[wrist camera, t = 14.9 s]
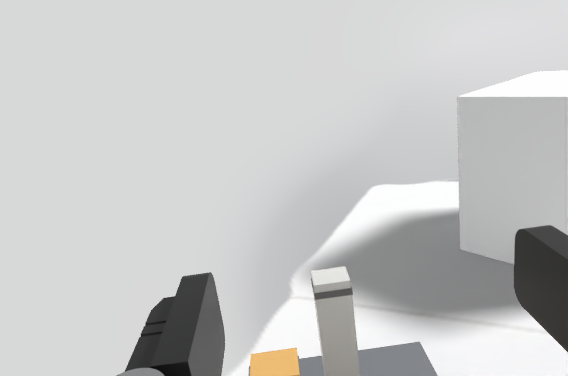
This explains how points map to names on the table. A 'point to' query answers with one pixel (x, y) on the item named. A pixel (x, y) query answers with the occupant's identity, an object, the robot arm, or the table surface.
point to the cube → (512, 161)
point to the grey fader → (336, 321)
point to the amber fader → (275, 363)
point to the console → (381, 362)
